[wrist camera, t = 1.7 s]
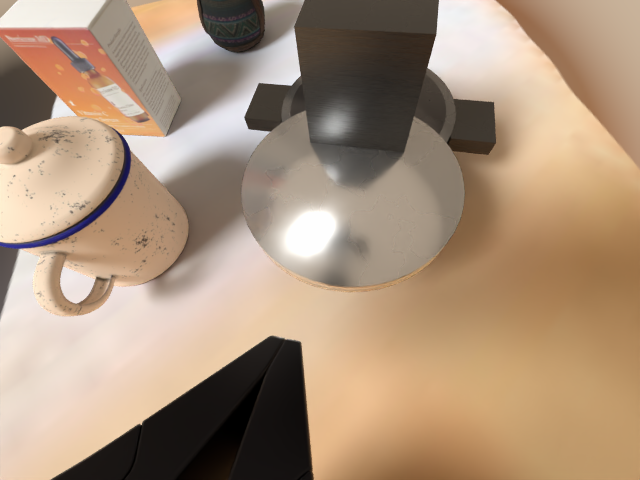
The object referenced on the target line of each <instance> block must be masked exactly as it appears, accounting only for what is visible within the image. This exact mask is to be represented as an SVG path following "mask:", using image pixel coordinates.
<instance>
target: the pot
mask: <svg viewBox="0 0 640 480" xmlns="http://www.w3.org/2000/svg"><path fill="white" fill-rule="evenodd" d="M303 111H306V108H305V101H304V94H303V86H302V79H301V76H300V77H299V78H298V79H297V80H296V81H295V83H294V84H293V85H292V86H287V85H275V84H263V83H259V84H258V86H257V89H256V91H255V94H254V96H253V98H252V101H251V103H250V105H249V108H248V110H247V112H246V115H245V117H244V118H245V121H246V123H247V126H248V129H251V130H261V131H270V132H271V131H272V130H273V129H274V128H276V127H277V126H278V125H280V124H281V123H282V122H284V121H286V120H287V119H289V118H291V117H292V116H294V115H297V114H299V113H301V112H303ZM414 117H416V118H418V119H419V120H421V121H423V122H424V123H426V124H427V125H428V126H430V127H431V128H432V129H434V130H435V131H436V132H437V133H438V134H439V135H440V136H441V137H442V138H443V139H444V141H445V142H446V143H447V144H448V146H449V147H450V148H451V150H452V151H458V152H467V153H477V154H486V155H488V154H489V153H490V151H491V150H492V148H493V147H494V145H495V144H496V134H495V114H494V102H483V101H471V100H459V99H453V97H452V95H451V93H450V91H449V89H448V88H447V86H446V85H445V83H444V82H443V81H442V80H441V79H440V78H439V77H438V76H437V75H436V74H435V73H433V72H432V71H431V70H429V69H428V68H427V70H426V74H425V78H424V81H423V85H422V89H421V92H420V96H419V100H418V104H417V107H416V111H415V115H414Z"/></svg>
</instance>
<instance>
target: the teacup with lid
mask: <svg viewBox="0 0 640 480" xmlns="http://www.w3.org/2000/svg"><path fill="white" fill-rule="evenodd" d="M188 232H189V223H188V218H187V215H186V212H185V210H184V209H183V207H182V206H181V205H180V204H179V202H178V201H177V200H176V199H175V198H174V197H173V196H172V195H171V194H170V193H169V192H168V191H167V189H166V188H165V187H164V186H163V185H162V184H161V183H160V182H159V181H158V180H157V179H156V178H155V176H154V175H153V174H152V173H151V172H150V171H149V170H148V169H147V168H146V167H145V166H144V165H143V163H142V162H141V161H140V160H139V159H138V158H137V157H136V156H135V155H134V154H133V153H132V152H131V150H130V149H129V146H128V144H127V142H126V140H125V139H124V137H123V136H122V135H121V134H120V133H119V132H118V131H117V130H115V129H114V128H112V127H110V126H108V125H107V124H105V123H103V122H100V121H98V120H95V119H91V118H87V117H78V116H68V117H60V118H54V119H49V120H46V121H43V122H40V123H37V124H34V125H32V126H29V127H27V128H25V129H23V130H20V129H17V128H15V127H0V246H3V247H7V248H15V249H16V248H17V249H22V250H24V251H27V252H29V253H32V254H34V255H37V256H39V257H40V259H39V261H38V264H37V266H36V269H35V273H34V277H33V290H34V294H35V297H36V299H37V301H38V303H39V304H40V306H41V307H42V308H43V309H45V310H46V311H48V312H50V313H52V314H55V315H59V316H78V315H83V314H87V313H90V312H92V311H94V310H96V309H98V308H99V307H100V306H102V305H103V304H104V303H105V302H106V300H107V299H108V297H109V296H110V294H111V291H112V289H113V286H119V287H126V286H134V285H138V284H142V283H145V282H147V281H150V280H152V279H154V278H155V277H157V276H159V275H160V274H162V273H163V272H164V271H166V270H167V269H168V268H169V267H170V266H171V265H172V264H173V263H174V262H175V261H176V259H177V258H178V257H179V255H180V254H181V252H182V250H183V248H184V246H185V244H186V241H187V238H188ZM63 266H64V267H66V268H69V269H71V270H74V271H76V272H78V273H81V274H83V275H86V276H88V277H91V278H93V279H95V282H94V285H93V288H92V290H91V292H90V294H89V295H88V296H87V297H86V298H85V299H84V300H83V301H81V302H80V303H78V304H75V303H72V302H70V301H69V300H67V299H66V298H65V297H64V295H63V293H62V290H61V287H60V275H61V271H62V268H63Z"/></svg>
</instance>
